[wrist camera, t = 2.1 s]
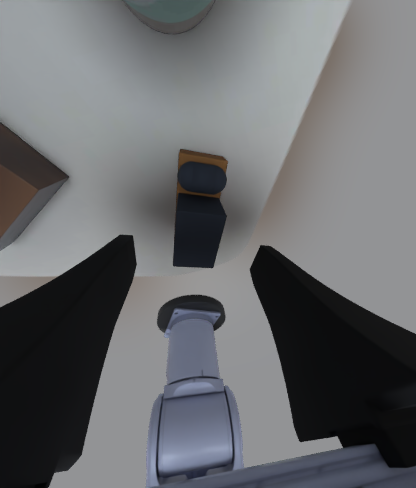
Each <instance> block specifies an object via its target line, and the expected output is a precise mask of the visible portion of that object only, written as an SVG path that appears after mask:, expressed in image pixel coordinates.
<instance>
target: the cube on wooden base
mask: <svg viewBox="0 0 416 488" xmlns="http://www.w3.org/2000/svg"><path fill="white" fill-rule="evenodd" d="M227 164H228V161H227V160H226V159H225V158H224V157H222V156H216V155H211V154H205V153H200V152H194V151H189V150H183V149H180V152H179V162H178V175H177V177H178V180H177V198H176V216H175V234H174V256H173V266H177V267H200V268H213V267H214V263H215V259H216V256H217V252H218V248H219V244H220V240H221V236H222V233H223V229H224V225H225V221H226V217H227V216H226V213H225V211H224V209H223V206H222V204H221V202H220V196H221V191H222V190H223V189H224V188H225V185H226V181H227V178H226V174H225V173H226V168H227Z"/></svg>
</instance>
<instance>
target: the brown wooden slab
mask: <svg viewBox="0 0 416 488" xmlns="http://www.w3.org/2000/svg"><path fill="white" fill-rule="evenodd" d="M67 178H68V176H67V175H66V174H64V173H63V172H62V171H61V170H59V169H58V168H57V167H56V166H54V165H53V164H52V163H51V162H49V161H48V160H47V159H45V158H44V157H43V156H42V155H40V154H39V153H38V152H37V151H35V150H34V149H33V148H31V147H30V146H29V145H28V144H26V143H25V142H24V141H23V140H21V139H20V138H19V137H18V136H16V135H15V134H14V133H12V132H11V131H10V130H9V129H7V128H6V127H5V126H4V125H2V124H1V123H0V251H1V250H2V249H4V248H5V247H7V246H8V245H10V244H11V243H13V242H14V241H15V239H16V238H17V237H18V236H19V235H20V234H21V232H22V231H23V230H24V229H25V228H26V226H27V225H28V224H29V223H30V222H31V221H32V219H33V218H34V217H35V216H36V215H37V214H38V212H39V211H40V210H41V209H42V208H43V207H44V205H45V204H46V203H47V202H48V201H49V200H50V198H51V197H52V196H53V195H54V194H55V193H56V191H57V190H58V189H59V188H60V187H61V186H62V184H63V183H64V182H65V181H66V180H67Z"/></svg>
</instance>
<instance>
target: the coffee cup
mask: <svg viewBox="0 0 416 488" xmlns="http://www.w3.org/2000/svg"><path fill="white" fill-rule="evenodd" d="M122 1H123V2H124V3H125V5H126V6H127V7H128V8H129V9H130V11H131V12H132V13H133V14H134V15H135V16H136V17H137V18H138V19H140V20H141V21H142V22H143V23H145V24H146V25H147V26H149V27H151V28H153V29H155V30H157V31H159V32H163V33H167V34H178V33H182V32H185V31H188V30H190V29H191V28H193V27H195V26H196V25H197V24H198V23H199V22H200V21H201V20H202V19H203V18H204V17H205V16H206V15H207V13H208V12H209V10H210V9H211V7H212V5H213V3H214V2H215V0H122Z"/></svg>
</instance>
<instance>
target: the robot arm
mask: <svg viewBox="0 0 416 488" xmlns="http://www.w3.org/2000/svg"><path fill="white" fill-rule="evenodd" d="M136 265H137V263H136V255H135V247H134V240H133V236H132V235H119V236H118V237H116V238H115V239H113V240H112V241H111V242H109V243H108V244H106V245H105V246H104V247H102V248H101V249H100V250H98V251H97V252H95V253H94V254H92V255H91V256H90V257H88V258H87V259H85V260H84V261H82V262H81V263H79V264H77V265H76V266H74V267H73V268H71V269H70V270H68V271H67V272H65V273H63V274H62V275H60V276H58V277H57V278H55V279H53V280H52V281H50V282H48V283H46V284H45V285H43V286H41V287H39V288H37V289H35V290H34V291H32V292H30V293H28V294H26V295H24V296H23V297H20V298H19V299H16V300H14V301H13V302H10V303H8V304H6V305H4V306H2V307H0V488H48V487H49V485H50V482H51V480H52V477H53V475H54V473H56V472H62V471H67V470H69V469H70V468H71V467H72V466H73V465H74V463H75V462H76V461H77V460H78V459H79V457H80V456H81V455H82V450H83V446H84V441H85V437H86V433H87V429H88V424H89V420H90V416H91V412H92V407H93V403H94V399H95V396H96V392H97V388H98V384H99V380H100V376H101V372H102V368H103V365H104V361H105V358H106V354H107V350H108V347H109V343H110V340H111V337H112V333H113V330H114V327H115V324H116V321H117V319H118V316H119V314H120V311H121V309H122V306H123V304H124V301H125V299H126V296H127V294H128V291H129V288H130V286H131V284H132V281H133V277H134V273H135V269H136ZM250 273H251V277H252V281H253V284H254V287H255V290H256V292H257V295H258V297H259V299H260V302H261V304H262V307H263V309H264V311H265V314H266V316H267V319H268V321H269V324H270V327H271V331H272V334H273V337H274V340H275V344H276V347H277V351H278V354H279V358H280V362H281V366H282V371H283V375H284V379H285V383H286V388H287V393H288V398H289V402H290V408H291V413H292V418H293V424H294V428H295V431H296V434H297V436H298V439H299V441H300V442H304V441H310V440H317V439H323V438H330V437H335V436H338V438H339V440H340V442H341V444H342V446H343V448H341V449H336V450H331V451H326V452H321V453H316V454H311V455H307V456H301V457H296V458H292V459H287V460H282V461H277V462H272V463H267V464H262V465H257V466H252V467H247V468H244V464H243V455H242V450H243V444H242V431H241V424H240V418H239V412H238V408H237V403H236V400H235V397H234V394H233V392H232V391H231V390H230V389H229V387H228V386H224V384H223V379H220V375H219V368H218V360H217V352H216V346H215V338H214V330H213V325H214V324H215V322H216V321H217V319H218V318H219V317H220V315H221V314H220V312H216V311H206V310H196V309H185V308H175V309H174V311H173V313H172V316H171V318H170V321H169V323H168V326H167V329H166V331H165V334H164V337H165V338H169V346H168V359H167V371H166V376H167V385H165V386H164V394H159V396H158V398H157V399H156V400H155V402H154V404H153V408H152V413H151V418H150V424H149V432H148V441H147V456H146V467H147V480H146V488H416V334H415V333H412V332H410V331H408V330H406V329H404V328H402V327H400V326H398V325H396V324H394V323H391V322H389V321H387V320H385V319H383V318H381V317H379V316H377V315H375V314H373V313H372V312H370V311H368V310H366V309H364V308H362V307H361V306H359V305H357V304H355V303H353V302H352V301H350V300H348V299H346V298H345V297H343V296H341V295H340V294H338V293H336V292H335V291H333V290H332V289H330V288H328V287H327V286H325V285H324V284H322V283H321V282H319V281H318V280H316V279H315V278H314V277H312V276H311V275H309V274H308V273H306V272H305V271H304V270H302V269H301V268H300V267H298V266H297V265H296V264H294V263H293V262H292V261H290V260H289V259H288V258H286V257H285V256H284V255H282V254H281V253H280V252H278V251H277V250H275V249H274V248H272V247H271V246H264V245H261V246H260V248H259V250H258V252H257V254H256V257H255V259H254V261H253V263H252V266H251V268H250Z"/></svg>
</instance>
